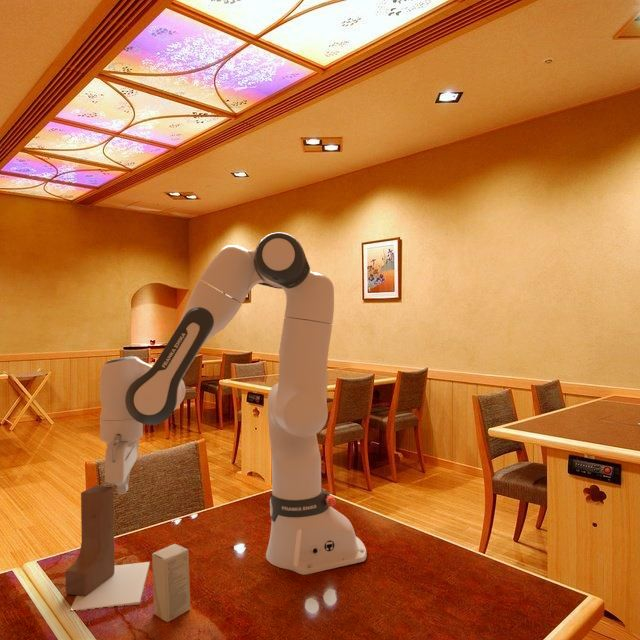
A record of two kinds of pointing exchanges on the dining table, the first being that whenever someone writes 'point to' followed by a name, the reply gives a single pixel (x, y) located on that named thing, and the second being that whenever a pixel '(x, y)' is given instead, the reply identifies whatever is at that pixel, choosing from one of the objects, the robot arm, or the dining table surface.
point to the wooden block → (93, 542)
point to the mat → (116, 588)
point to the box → (171, 582)
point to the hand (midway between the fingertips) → (122, 492)
